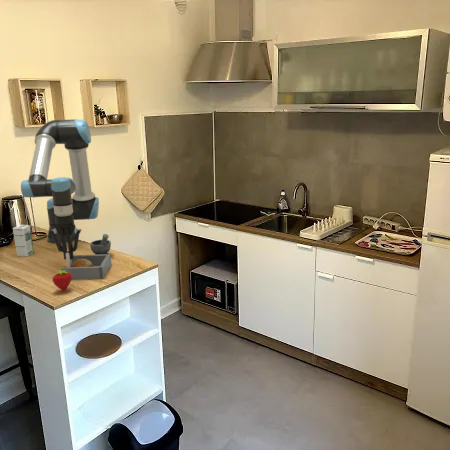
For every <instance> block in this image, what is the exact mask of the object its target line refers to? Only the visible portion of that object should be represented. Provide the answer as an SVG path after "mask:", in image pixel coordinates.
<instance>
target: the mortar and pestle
mask: <svg viewBox="0 0 450 450" xmlns="http://www.w3.org/2000/svg"><path fill="white" fill-rule="evenodd" d="M111 244H112V241H111V240H109V234H107V233H103V234H102V238H101V239H95V240H93V241H91V242H90V244H89V245H90V250H91V252H92V253H93V254H94V255H98V254H109V252H110V250H111V246H112V245H111Z"/></svg>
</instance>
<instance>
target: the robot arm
mask: <svg viewBox="0 0 450 450" xmlns="http://www.w3.org/2000/svg"><path fill="white" fill-rule="evenodd" d="M91 143H92V135H91V131H90V126H89V124H88V122H87V121H86V120H84V119H77V118H76V119H53V120H49V121H48V122H46V123H44V124H43V125H42V126H41V127H40V128H39V129H38V130H37V132H36V134H35V136H34V144H35V148H34V152H33V157H32V161H31V165H30V166H31V167H30V171H29V175H28V179H26V180H25V179H24V180H22V181H21V182H20V193H21V194H22V196H23V197H24V198H33V199H34V198H44V197H45V198H47V197H50V198H49V199H48V200H47V202H46V211H47V217H48V218H47V219H48V225H49V227H48V230H47V236H46V237H47V242H48V243H51V244H52V243H53V244H55V245H56V248H57V251H58V252H59V253H60V252H61V253H63V254H62V255H63V259H64V260H66V267H71V265H72V259H73V257H74V256H73V255H74V252H76V251H77V250H78V244H79V237H80V234H81V232H82V229H81V228H78V227H77V226H76V224H75V221H79V220H81V221H83V220H93V219H94V220H95V219H97V218H98V215H99V207H100V199H99V197H97V196H96V194H95V192H93V191H92V185H91V178H90V177H91V175H90V170H89V162H88V153H87V149H88V148H89V147H90V146H89V145H90V144H91ZM56 145H64V149H65V150H66V151H68V156H69V157H68V158H69V163H70V171H71V177H72V178H71V177H66V176H64V177H63V176H62V177H60V176H59V177H55V178H51V179H48V175H49V171H50V165H51V160H52V153H53V149H55V147H56ZM72 194H73V195H72ZM51 197H52V198H51Z"/></svg>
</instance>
